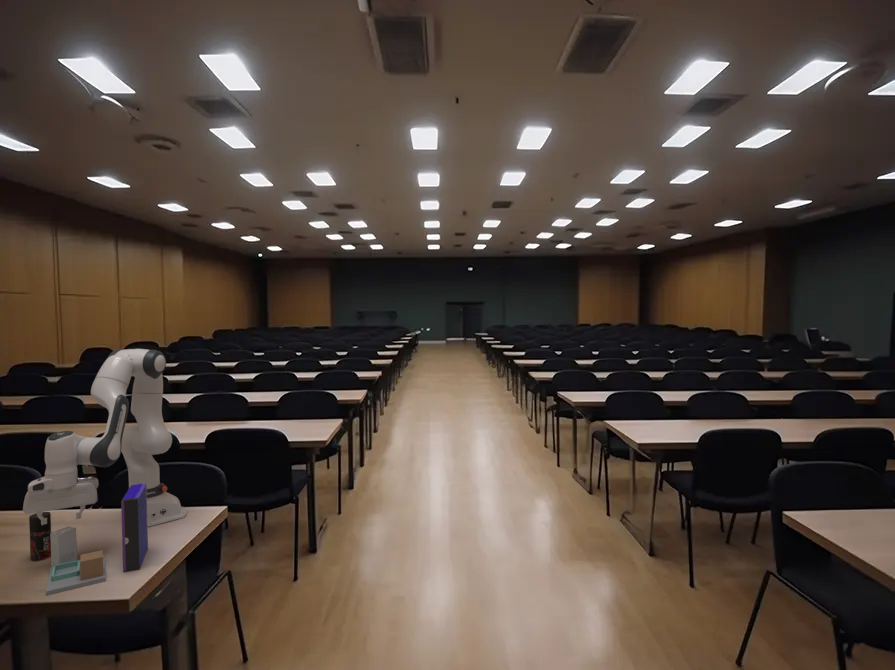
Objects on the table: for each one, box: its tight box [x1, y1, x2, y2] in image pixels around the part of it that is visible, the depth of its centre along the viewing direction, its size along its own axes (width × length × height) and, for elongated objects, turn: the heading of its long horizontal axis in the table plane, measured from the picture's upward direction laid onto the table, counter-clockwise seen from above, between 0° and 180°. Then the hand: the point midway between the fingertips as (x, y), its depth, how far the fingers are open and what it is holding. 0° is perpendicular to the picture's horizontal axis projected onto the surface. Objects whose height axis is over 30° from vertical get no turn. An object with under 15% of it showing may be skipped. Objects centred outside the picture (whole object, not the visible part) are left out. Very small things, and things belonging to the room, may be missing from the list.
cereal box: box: [120, 484, 149, 573], centre depth 181 cm, size 17×5×24 cm, turn 22°
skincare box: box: [50, 526, 78, 568], centre depth 178 cm, size 6×4×12 cm
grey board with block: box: [45, 549, 106, 596], centre depth 170 cm, size 15×18×7 cm
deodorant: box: [28, 511, 52, 562], centre depth 183 cm, size 6×6×15 cm
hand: (61, 521), depth 177 cm, fingers open, 8 cm apart
